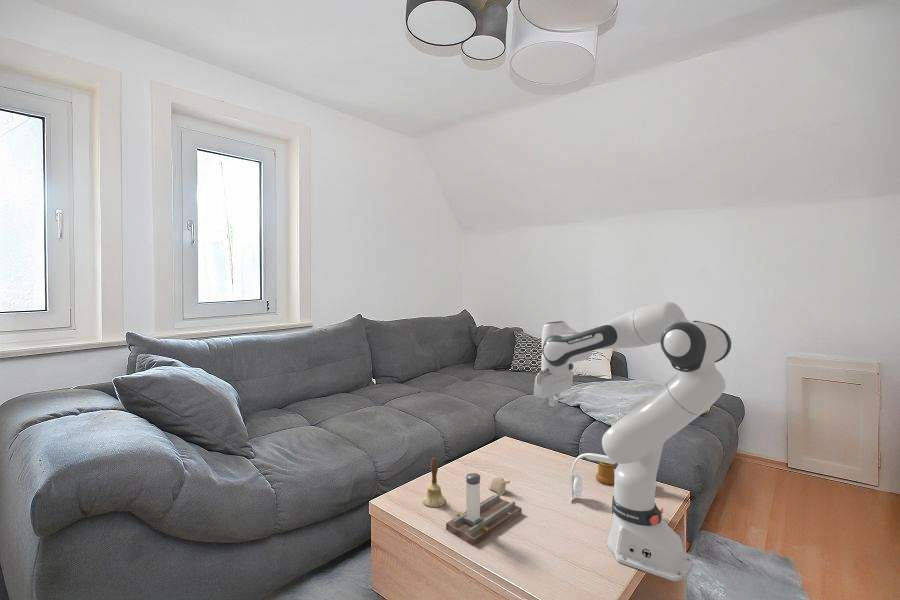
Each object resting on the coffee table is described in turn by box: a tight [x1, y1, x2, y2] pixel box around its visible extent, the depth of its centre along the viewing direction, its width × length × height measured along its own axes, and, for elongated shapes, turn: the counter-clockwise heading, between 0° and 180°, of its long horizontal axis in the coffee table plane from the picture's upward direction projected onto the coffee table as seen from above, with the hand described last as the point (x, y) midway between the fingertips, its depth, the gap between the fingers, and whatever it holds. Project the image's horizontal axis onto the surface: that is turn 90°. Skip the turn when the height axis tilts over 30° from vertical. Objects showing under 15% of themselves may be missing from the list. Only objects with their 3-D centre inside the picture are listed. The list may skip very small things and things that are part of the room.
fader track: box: [445, 493, 523, 547], centre depth 142 cm, size 12×24×4 cm, turn 136°
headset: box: [570, 452, 619, 504], centre depth 152 cm, size 20×7×18 cm, turn 64°
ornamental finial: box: [595, 461, 615, 486], centre depth 169 cm, size 8×8×8 cm
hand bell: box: [421, 457, 447, 508], centre depth 154 cm, size 8×8×16 cm
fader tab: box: [463, 472, 483, 526], centre depth 138 cm, size 5×4×15 cm
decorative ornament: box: [487, 475, 511, 497], centre depth 162 cm, size 4×8×5 cm, turn 39°
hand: (553, 405), depth 155 cm, fingers closed
